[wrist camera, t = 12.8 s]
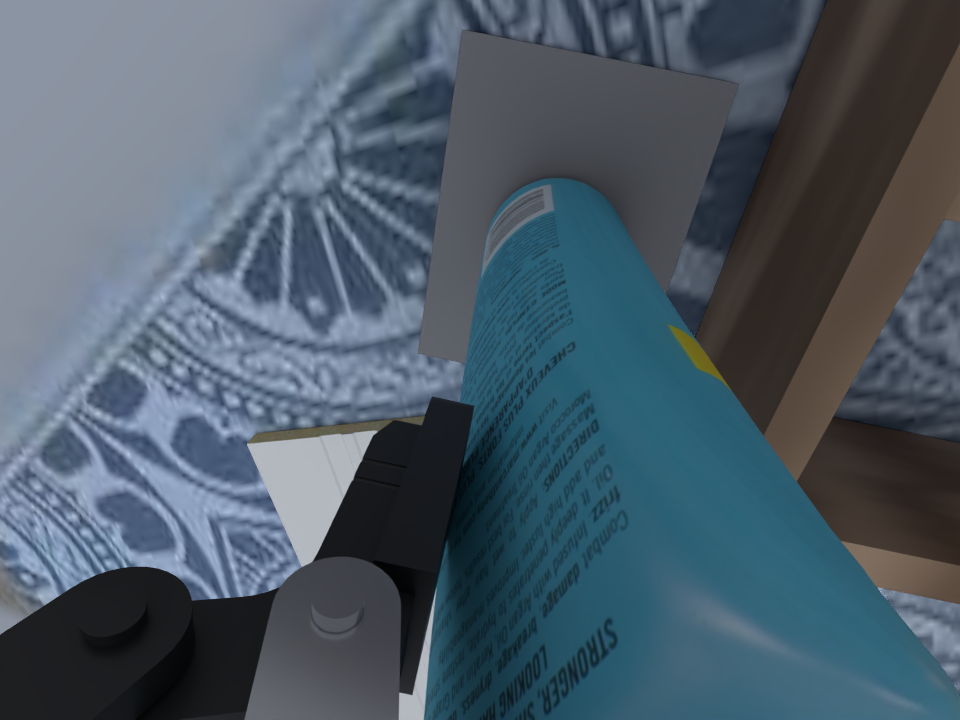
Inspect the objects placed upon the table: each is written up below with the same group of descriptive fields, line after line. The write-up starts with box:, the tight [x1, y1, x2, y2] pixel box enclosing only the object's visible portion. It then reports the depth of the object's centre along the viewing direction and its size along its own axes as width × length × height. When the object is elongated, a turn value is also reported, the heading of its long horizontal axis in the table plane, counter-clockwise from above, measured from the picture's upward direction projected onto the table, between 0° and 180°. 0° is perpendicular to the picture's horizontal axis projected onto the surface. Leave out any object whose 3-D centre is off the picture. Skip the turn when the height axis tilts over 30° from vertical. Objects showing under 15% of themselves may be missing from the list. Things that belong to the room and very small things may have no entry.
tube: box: [424, 178, 960, 720], centre depth 13 cm, size 7×5×19 cm, turn 161°
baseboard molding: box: [247, 416, 436, 720], centre depth 34 cm, size 31×3×12 cm
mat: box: [418, 30, 739, 363], centre depth 22 cm, size 9×12×1 cm
